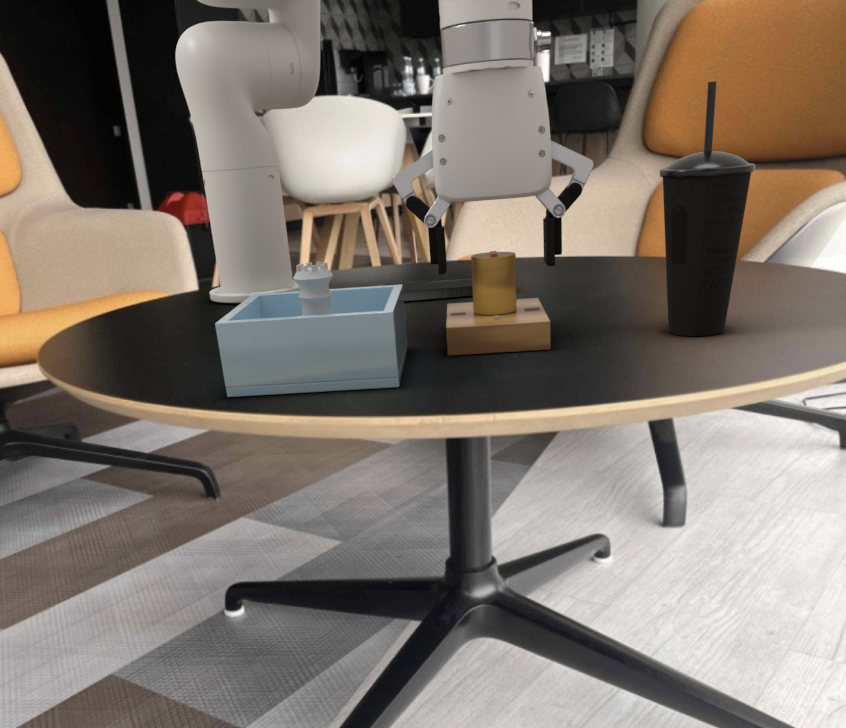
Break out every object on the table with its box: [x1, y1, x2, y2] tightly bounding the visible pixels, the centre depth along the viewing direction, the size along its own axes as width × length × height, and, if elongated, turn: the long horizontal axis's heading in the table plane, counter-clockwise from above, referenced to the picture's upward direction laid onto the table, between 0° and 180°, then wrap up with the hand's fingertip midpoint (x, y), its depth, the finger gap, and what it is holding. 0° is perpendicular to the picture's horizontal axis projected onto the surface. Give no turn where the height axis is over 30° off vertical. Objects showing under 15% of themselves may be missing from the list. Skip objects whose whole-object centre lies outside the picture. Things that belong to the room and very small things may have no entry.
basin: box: [214, 284, 408, 398], centre depth 73 cm, size 14×14×6 cm
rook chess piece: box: [292, 261, 334, 316], centre depth 72 cm, size 4×4×8 cm
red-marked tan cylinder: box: [470, 250, 518, 315], centre depth 79 cm, size 4×4×5 cm
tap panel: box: [445, 297, 552, 357], centre depth 81 cm, size 12×9×3 cm
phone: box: [382, 276, 473, 302], centre depth 107 cm, size 8×1×15 cm
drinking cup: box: [659, 80, 756, 337], centre depth 75 cm, size 8×8×20 cm
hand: (496, 268), depth 79 cm, fingers open, 9 cm apart
